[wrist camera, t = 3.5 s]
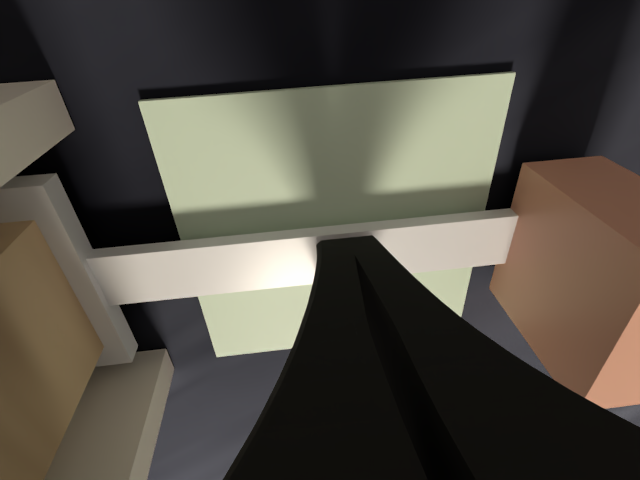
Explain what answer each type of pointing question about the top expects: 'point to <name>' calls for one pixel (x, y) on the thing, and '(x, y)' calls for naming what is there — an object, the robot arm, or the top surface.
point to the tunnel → (106, 381)
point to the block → (38, 352)
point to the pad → (323, 174)
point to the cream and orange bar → (405, 265)
